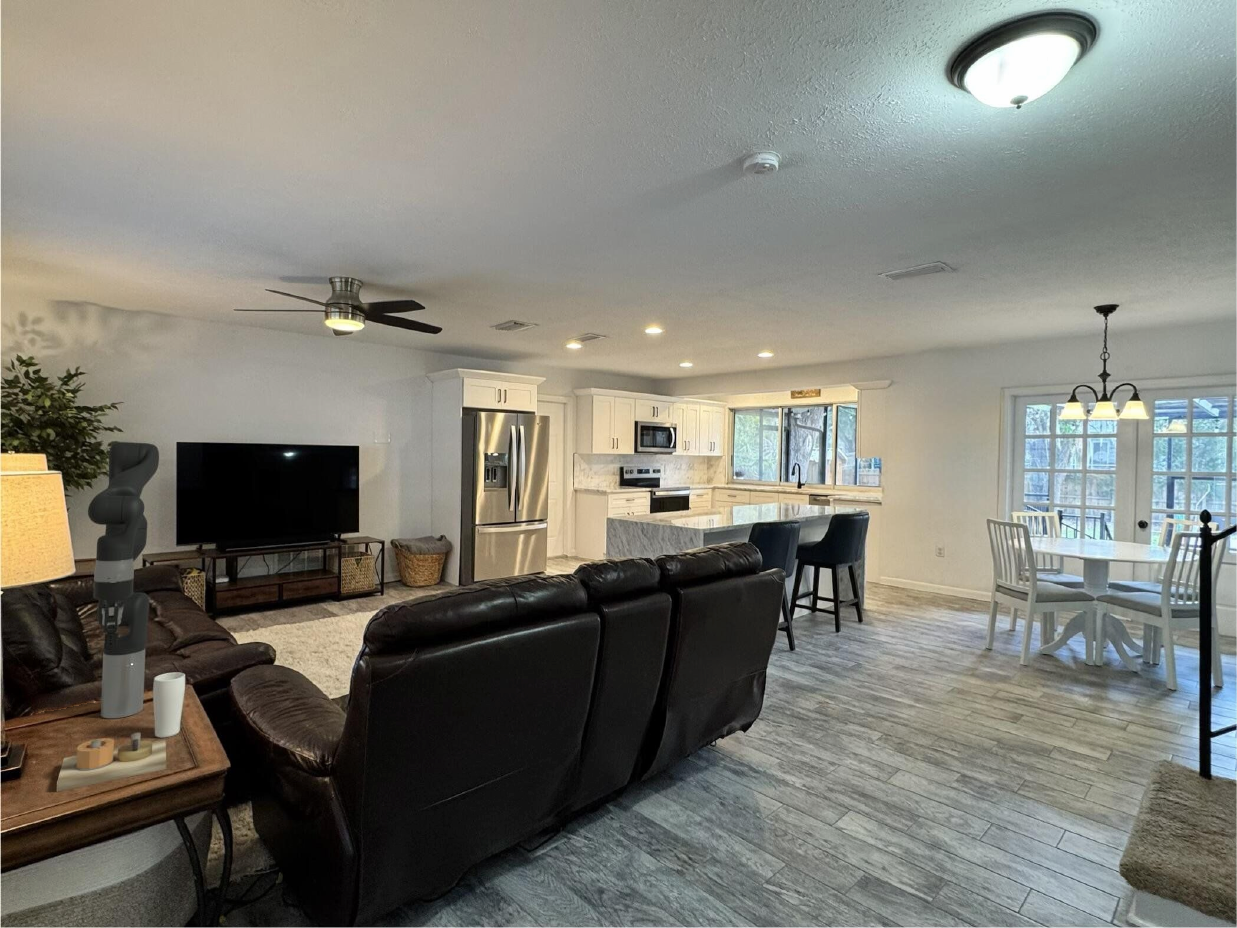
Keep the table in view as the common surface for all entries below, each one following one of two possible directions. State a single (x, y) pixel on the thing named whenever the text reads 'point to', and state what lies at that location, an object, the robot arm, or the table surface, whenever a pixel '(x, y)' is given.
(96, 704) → the table surface
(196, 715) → the table surface
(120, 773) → the gear board
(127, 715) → the robot arm
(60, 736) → the table surface
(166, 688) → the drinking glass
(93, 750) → the gear
